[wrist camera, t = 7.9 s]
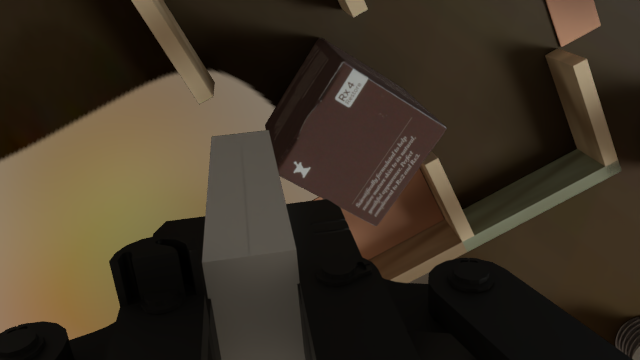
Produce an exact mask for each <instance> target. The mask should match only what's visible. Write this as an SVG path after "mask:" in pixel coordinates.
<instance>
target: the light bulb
mask: <svg viewBox="0 0 640 360" xmlns="http://www.w3.org/2000/svg"><path fill="white" fill-rule="evenodd" d="M615 346H616V348H617V349H619V350H620V351H622V352H623V353H624V354H626V355H627V356H629V357H630V358H632V359H633V360H640V317H636V318H633V319H631V320H629V321H628V322H626V323H625V324H624V325H623V326H622V327H621V328H620V330H619V331H618V333H617V336H616V340H615Z"/></svg>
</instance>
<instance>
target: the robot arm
mask: <svg viewBox="0 0 640 360" xmlns="http://www.w3.org/2000/svg"><path fill="white" fill-rule="evenodd" d="M109 263H110V267H111V270H112V275H113V279H114V283H115V287H116V291H117V295H118V299H119V303H120V310H119V313H118V317H117V320H116V322H114V323H113V324H111V325H109V326H107V327H105V328H103V329H100V330H98V331H95V332H93V333H90V334H87V335H84V336H81V337H78V338H75V339H72V340H69V339H68V336H67V332H66V329H65V328H63V327H62V326H60V325H59V324H57V323H51V322H35V323H26V324H22V325H18V326H17V327H16V326H15V327H12V328H9V329H7V330H5V331H4V332H2V333H0V360H633V359H632V358H630V357H629V356H627V355H626V354H624V353H623V352H622V351H620V350H619V349H617V348H616V347H615V346H613V345H612V344H610V343H609V342H608V341H606V340H605V339H603V338H602V337H601V336H599V335H598V334H596V333H595V332H593V331H592V330H591V329H589V328H588V327H586V326H585V325H584V324H582V323H581V322H579V321H578V320H577V319H575V318H574V317H572V316H571V315H569V314H568V313H567V312H565V311H564V310H562V309H561V308H560V307H558V306H557V305H555V304H554V303H553V302H551V301H550V300H548V299H547V298H546V297H544V296H543V295H541V294H540V293H538V292H537V291H536V290H534V289H533V288H531V287H530V286H529V285H527V284H526V283H524V282H523V281H522V280H520V279H519V278H517V277H516V276H514V275H513V274H512V273H510V272H509V271H507V270H506V269H504V268H502V267H500V266H498V265H497V264H495V263H493V262H488V261H484V260H480V259H477V258H459V259H453V260H448V261H445V262H443V263H441V264H438V265H436V266H435V267H434V268H433V269H432V270H431V271H430V273H429V280H428V284H414V283H402V282H395V281H391V280H387V279H384V278H382V276H381V274H380V272H379V270H378V268H377V267H376V266H375V265H374V264H373V263H372V262H371V261H369V260H367V259H365V258H363V257H362V256H361V253H360V251H359V249H358V246H357V244H356V242H355V240H354V237H353V235H352V233H351V230H349V226H348V224H347V221H346V220H345V217H344V215H343V212H342V210H341V208H340V207H339V206H337V205H336V204H334V203H333V202H331V201H329V200H328V199H322V200H314V201H307V202H300V203H292V204H286V203H285V198H284V194H283V190H282V186H281V181H280V177H279V172H278V168H277V164H276V160H275V155H274V151H273V147H272V142H271V138H270V134H269V130H265V131H257V132H248V133H239V134H230V135H222V136H213V137H212V140H211V152H210V165H209V178H208V191H207V203H206V216H205V217H197V218H189V219H181V220H175V221H166V222H165V223H164V224H163V225H162V226H161V227H160V228H159V229H158V230H157V231H156V232H155V233H154V234H153V237H150V238H146V239H141V240H139V241H137V242H134V243H131V244H129V245H127V246H125V247H124V248H122V249H121V250H119V251H118V252H116V253H115V254H114V256H113V257H112V258H111V260H110V261H109Z"/></svg>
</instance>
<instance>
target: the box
mask: <svg viewBox="0 0 640 360" xmlns="http://www.w3.org/2000/svg"><path fill="white" fill-rule="evenodd" d="M265 127H266V130H269V134H270V138H271V142H272V147H273V151H274V155H275V160H276V164H277V168H278V172H279V176H281V177H283V178H285V179H287V180H288V181H290V182H293V183H294V184H296V185H298V186H300V187H302V188H304V189H306V190H308V191H309V192H311V193H313V194H315V195H317V196H319V197H321V198H322V199H328V200H329V201H331V202H333V203H334V204H336V205H337V206H339V207H340V208H342V209H344V210H346V211H347V212H349V213H351V214H353V215H355V216H357V217H359V218H361V219H362V220H364V221H366V222H368V223H370V224H372V225H374V226H377V225H378V224H379V223H380V222H381V220H382V219H383V218H384V216H385V215H386V213H387V212H388V211H389V209H390V208H391V207H392V205H393V204H394V203H395V201H396V200H397V198H398V197H399V195H400V194H401V192H402V191H403V190H404V188H405V187H406V186H407V184H408V183H409V181H410V180H411V179H412V177H413V176H414V175H415V173H416V172H417V170H418V169H419V167H420V166H421V164H422V163H423V162H424V160H425V159H426V157H427V156H428V155H429V153H430V152H431V150H432V149H433V148H434V147H435V145H436V143H437V142H438V141H439V139H440V138H441V136H442V135H443V134H444V132H445V131H446V127H445V126H444V125H443V124H442V123H441V122H440V121H439V120H438V119H437V118H436V117H435V116H433V115H432V114H431V113H430V112H429V111H428V110H427V109H425V108H424V107H423V106H422V105H421V104H420V103H419V102H418V101H417V100H415V98H413V97H412V96H411V95H410V94H409V93H408V92H407V91H406V90H405V89H403V88H401V87H400V86H398V85H397V84H395V83H394V82H392V81H391V80H389V79H387V78H386V77H384V76H383V75H381V74H379V73H378V72H376V71H375V70H373V69H371V68H370V67H368V66H367V65H365V64H364V63H362V62H360V61H359V60H357V59H355V58H354V57H352V56H351V55H349V54H347V53H346V52H344V51H342V50H341V49H339V48H337V47H336V46H334V45H332V44H331V43H329V42H328V41H326V40H325V39H323V38H318V40H317V41H316V42H315V44H314V46H313V47H312V49H311V51H310V52H309V54H308V56H307V57H306V59H305V61H304V62H303V64H302V65H301V67H300V69H299V70H298V72H297V74H296V75H295V77H294V78H293V80H292V81H291V83H290V85H289V86H288V88H287V90H286V91H285V93H284V95H283V96H282V98H281V100H280V101H279V103H278V105H277V106H276V108H275V110H274V111H273V113H272V115H271V116H270V118H269V119H268V121H267V123H266V125H265Z"/></svg>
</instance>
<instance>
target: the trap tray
mask: <svg viewBox="0 0 640 360" xmlns="http://www.w3.org/2000/svg"><path fill="white" fill-rule="evenodd" d="M131 1H132V2H133V4H134V5H135V7H136V8H137V10H138V11H139V13H140V14H141V16H142V18H143V19H144V21H145V22H146V24H147V25H148V27H149V28H150V30H151V31H152V33H153V34H154V36H155V38H156V39H157V41H158V42H159V44H160V45H161V47H162V48H163V50H164V51H165V53H166V54H167V56H168V57H169V59H170V61H171V62H172V64H173V65H174V67H175V68H176V70H177V71H178V73H179V74H180V76H181V77H182V79H183V80H184V82H185V84H186V85H187V86H188V88H189V90H190V91H191V93H192V94H193V96H194V97H195V99H196V100H197V102H198V103H199V104H201V103H203V102H205V101H207V100H208V99H210V98H212V97H213V94H214V84H215V82H214V81H213V79H212V77H211V76H210V74H209V73H208V71H207V69H206V68H205V66H204V65H203V63H202V62H201V60H200V58H199V57H198V55H197V54H196V52H195V50H194V49H193V47H192V46H191V44H190V42H189V41H188V39H187V38H186V36H185V34H184V33H183V31H182V30H181V28H180V26H179V25H178V23H177V22H176V20H175V18H174V17H173V15H172V14H171V12H170V10H169V9H168V7H167V6H166V4H165V2H164V1H163V0H131ZM545 1H546V4H547V7H548V10H549V13H550V16H551V19H552V22H553V25H554V28H555V31H556V34H557V37H558V40H559V43H560V47H563V46H564V45H566V44H568V43H570V42H572V41H574V40H575V39H577V38H579V37H581V36H583V35H585V34H586V33H588V32H590V31H592V30H594V29H596V28H597V27H599V26H601V24H600V21H599V17H598V14H597V10H596V7H595V4H594V0H545ZM338 2H339V4H340V6H341V8H342V10H343V11H345V12H346V13H348V14H349V15H351V16H352V17H355V16H357V15H359V14H361V13H362V12H364V11H366V10H368V8H367V6H366V4H365V2H364V0H338ZM545 57H546V60H547V63H548V66H549V68H550V71H551V74H552V77H553V80H554V83H555V86H556V89H557V92H558V95H559V98H560V101H561V103H562V106H563V109H564V112H565V115H566V118H567V121H568V124H569V127H570V130H571V133H572V135H573V138H574V141H575V144H576V147H577V149H576V150H574V151H572V152H570V153H568V154H566V155H565V156H563V157H561V158H559V159H557V160H555V161H553V162H551V163H549V164H548V165H546V166H544V167H542V168H540V169H538V170H536V171H534V172H533V173H531V174H529V175H527V176H525V177H523V178H521V179H519V180H517V181H516V182H514V183H512V184H510V185H508V186H506V187H504V188H502V189H501V190H499V191H497V192H495V193H493V194H491V195H489V196H487V197H486V198H484V199H482V200H480V201H478V202H476V203H474V204H472V205H470V206H469V207H467V208H465V209H463V210H462V208H461V206H460V204H459V202H458V200H457V197H456V195H455V193H454V191H453V189H452V187H451V185H450V183H449V180H448V178H447V176H446V174H445V172H444V170H443V168H442V166H441V163H440V161H439V159H438V158H437V156H436V155H435V154H434V153H433V152H432V151H431V152H430V153H429V155H428V156H427V157H426V159H425V160H424V162H423V163H422V164H421V166H420V168H419V169H418V170H417V172H416V173H415V175H414V176H413V177H412V179H411V180H410V181H409V183H408V184H407V186H406V187H405V188H404V190H403V191H402V192H401V194H400V195H399V197H398V198H397V200H396V201H395V203H394V204H393V205H392V207H391V208H390V209H389V211H388V212H387V213H386V215H385V216H384V218H383V219H382V220H381V222H380V223H379V224H378V225H377V226H374V225H372V224H370V223H368V222H366V221H364V220H362V219H361V218H359V217H357V216H355V215H353V214H351V213H349V212H347V211H346V210H344V209H342V208H341V210H342V212H343V215H344V217H345V220H346V221H347V224H348V226H349V230H351V233H352V235H353V237H354V240H355V242H356V244H357V246H358V249H359V251H360V253H361V256H362V257H363V258H365V259H367V260H369V261H371V262H372V263H373V264H374V265H375V266H376V267H377V268H378V270H379V272H380V274H381V276H382V278H384V279H387V280H391V281H395V282H402V283H409V282H411V281H413V280H415V279H417V278H419V277H420V276H422V275H424V274H426V273H428V272H430V271H431V270H432V269H433V268H434V267H435V266H436V265H438V264H441V263H443V262H445V261H448V260H453V259H455V258H457V257H459V256H460V255H462V254H464V253H466V252H468V251H470V250H472V249H474V248H476V247H478V246H479V245H481V244H483V243H485V242H487V241H489V240H491V239H493V238H495V237H497V236H498V235H500V234H502V233H504V232H506V231H508V230H510V229H512V228H514V227H516V226H517V225H519V224H521V223H523V222H525V221H527V220H529V219H531V218H533V217H535V216H537V215H538V214H540V213H542V212H544V211H546V210H548V209H550V208H552V207H554V206H556V205H557V204H559V203H561V202H563V201H565V200H567V199H569V198H571V197H573V196H575V195H576V194H578V193H580V192H582V191H584V190H586V189H588V188H590V187H592V186H594V185H595V184H597V183H599V182H601V181H603V180H605V179H607V178H609V177H611V176H613V175H614V174H616V173H618V172H620V171H621V168H620V164H619V161H618V158H617V155H616V152H615V148H614V145H613V142H612V139H611V135H610V132H609V129H608V126H607V123H606V119H605V116H604V113H603V110H602V106H601V103H600V100H599V97H598V94H597V90H596V87H595V84H594V81H593V77H592V74H591V71H590V68H589V64H588V61H587V59H586V58H583V57H580V56H577V55H574V54H572V53H569V52H566V51H563V50H560V49H558V48H557V49H556V50H554V51H552V52H550V53H548V54H546V55H545ZM420 169H421V170H420ZM421 171H422V172H421ZM422 173H423V175H424V177H425V179H426V181H427V183H428V185H429V187H430V189H431V191H432V193H433V195H434V197H433V195H432V193H431V191H430V189H429V187H428V185H427V183H426V181H425V179H424V177H423V175H422ZM434 198H435V199H434ZM314 200H322V198H321V197H318V198H316V199H314ZM314 200H312V201H314ZM435 200H436V201H435ZM436 202H437V203H436ZM437 204H438V205H437ZM438 206H439V207H438ZM439 208H440V209H439ZM440 210H441V211H440ZM441 212H442V213H441ZM442 214H443V215H442ZM443 216H444V217H443ZM444 218H445V219H444Z"/></svg>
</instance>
